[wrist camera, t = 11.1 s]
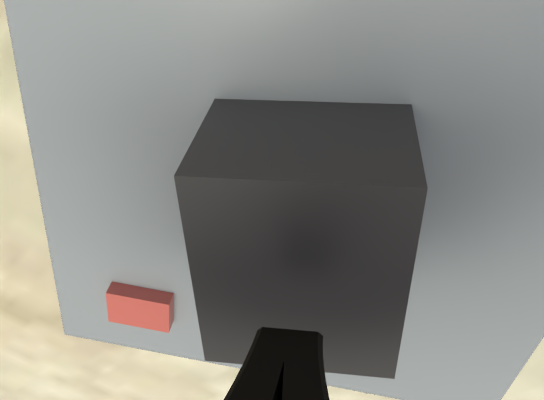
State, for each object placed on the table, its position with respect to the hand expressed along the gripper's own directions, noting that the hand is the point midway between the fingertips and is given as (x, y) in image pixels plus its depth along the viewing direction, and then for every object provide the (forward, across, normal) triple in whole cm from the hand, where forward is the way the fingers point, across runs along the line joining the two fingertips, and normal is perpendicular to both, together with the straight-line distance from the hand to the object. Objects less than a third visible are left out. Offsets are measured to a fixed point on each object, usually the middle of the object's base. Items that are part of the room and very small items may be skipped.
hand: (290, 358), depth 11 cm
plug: (+8, 0, 0) cm, 8 cm away
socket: (+8, 0, 0) cm, 8 cm away
